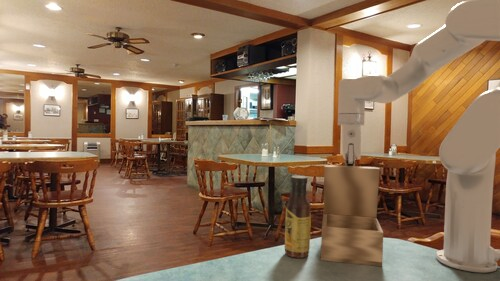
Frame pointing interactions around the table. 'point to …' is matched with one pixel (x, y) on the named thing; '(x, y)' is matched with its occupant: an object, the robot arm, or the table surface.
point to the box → (352, 239)
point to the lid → (351, 190)
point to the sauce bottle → (297, 219)
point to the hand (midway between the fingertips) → (349, 182)
